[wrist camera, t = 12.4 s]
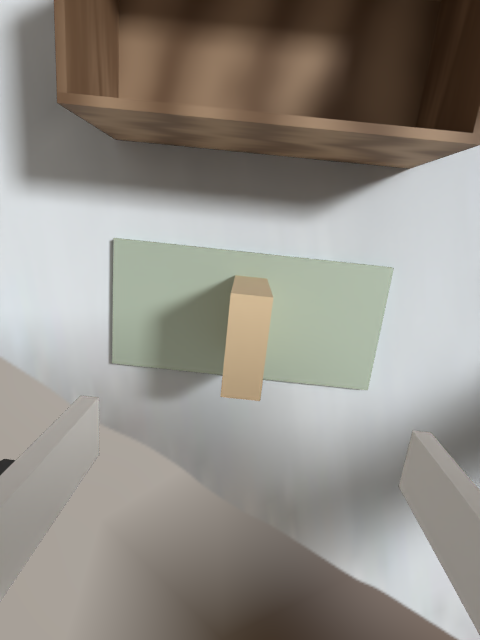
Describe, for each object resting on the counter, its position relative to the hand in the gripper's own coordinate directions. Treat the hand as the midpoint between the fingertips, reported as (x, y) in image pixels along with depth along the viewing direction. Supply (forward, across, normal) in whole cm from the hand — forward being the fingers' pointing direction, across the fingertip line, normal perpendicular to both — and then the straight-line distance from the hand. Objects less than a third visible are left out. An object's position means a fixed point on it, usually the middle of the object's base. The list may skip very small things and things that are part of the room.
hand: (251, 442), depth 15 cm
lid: (+22, +1, 0) cm, 22 cm away
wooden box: (+21, +1, -21) cm, 30 cm away
